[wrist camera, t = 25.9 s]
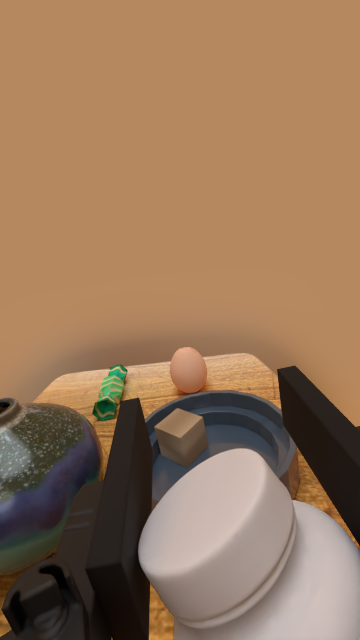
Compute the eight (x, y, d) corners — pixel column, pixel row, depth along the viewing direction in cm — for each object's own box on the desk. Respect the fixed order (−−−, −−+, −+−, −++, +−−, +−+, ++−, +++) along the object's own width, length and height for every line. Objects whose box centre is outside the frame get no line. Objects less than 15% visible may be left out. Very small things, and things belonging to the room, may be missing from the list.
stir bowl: (317, 438, 35) (314, 404, 34) (263, 593, 22) (256, 547, 21) (190, 409, 45) (184, 382, 44) (102, 503, 32) (90, 469, 31)
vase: (30, 462, 41) (-7, 371, 37) (138, 466, 36) (109, 363, 32) (-92, 597, 26) (-174, 474, 23) (59, 632, 22) (-9, 486, 18)
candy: (122, 411, 46) (101, 394, 45) (107, 425, 47) (86, 408, 46) (132, 374, 58) (115, 360, 57) (120, 386, 58) (103, 372, 57)
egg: (190, 405, 46) (181, 359, 44) (167, 393, 50) (158, 351, 48) (217, 388, 49) (210, 344, 47) (193, 378, 54) (185, 338, 51)
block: (208, 445, 36) (203, 416, 35) (187, 468, 34) (180, 437, 32) (183, 435, 39) (177, 407, 38) (161, 455, 36) (154, 426, 35)
